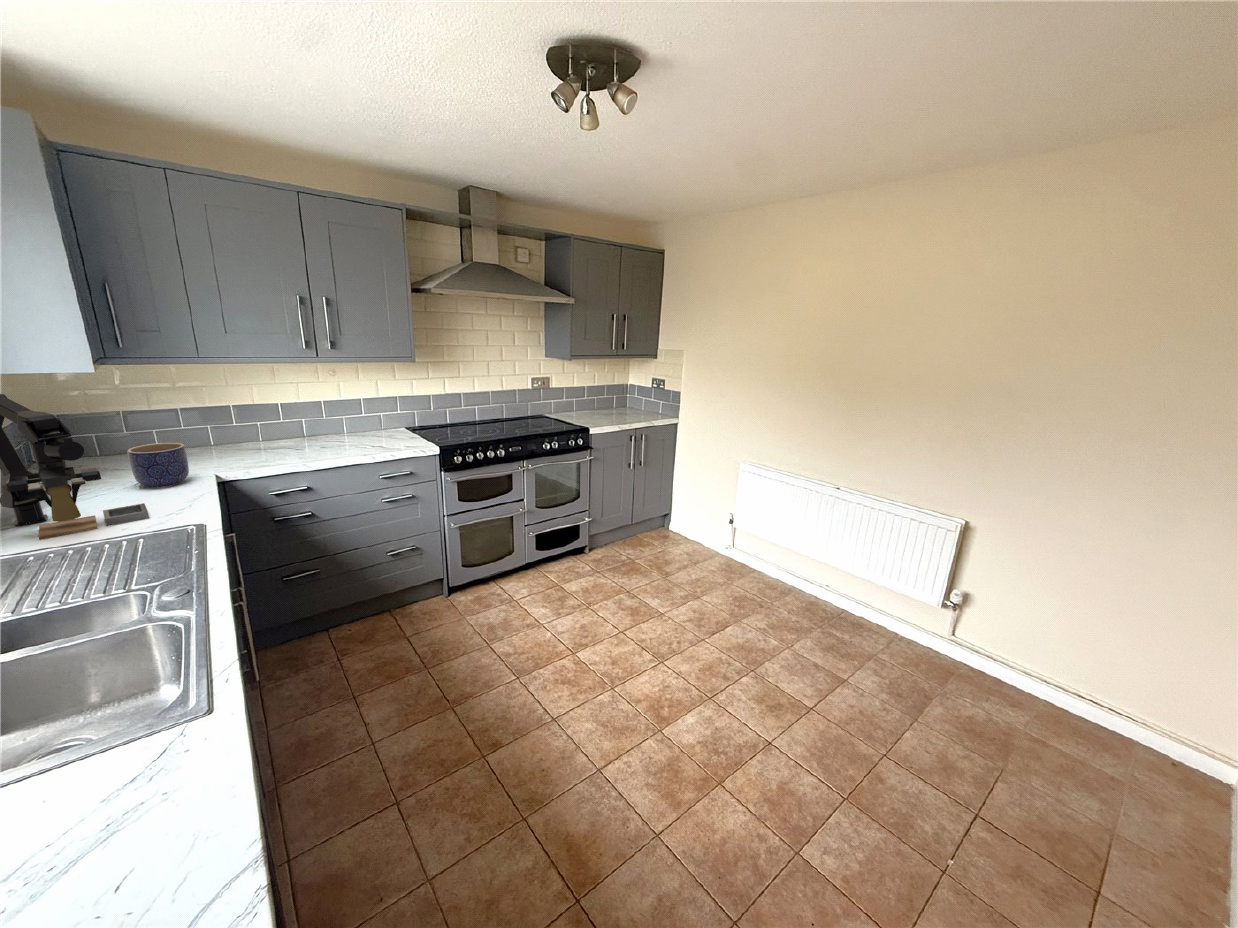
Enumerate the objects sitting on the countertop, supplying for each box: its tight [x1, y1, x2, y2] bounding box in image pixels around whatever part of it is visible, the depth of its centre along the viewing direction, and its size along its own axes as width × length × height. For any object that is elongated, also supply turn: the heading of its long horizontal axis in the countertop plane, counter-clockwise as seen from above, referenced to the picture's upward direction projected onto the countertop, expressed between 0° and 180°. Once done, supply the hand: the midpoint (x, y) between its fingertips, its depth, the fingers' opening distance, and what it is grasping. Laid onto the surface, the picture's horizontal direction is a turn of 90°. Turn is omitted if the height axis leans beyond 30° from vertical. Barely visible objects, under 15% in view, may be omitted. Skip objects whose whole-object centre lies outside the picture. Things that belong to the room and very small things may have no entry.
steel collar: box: [102, 502, 150, 527], centre depth 162 cm, size 10×10×2 cm
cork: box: [46, 483, 82, 522], centre depth 151 cm, size 6×6×11 cm
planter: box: [126, 442, 190, 489], centre depth 193 cm, size 16×17×15 cm
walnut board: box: [37, 514, 98, 541], centre depth 153 cm, size 12×12×1 cm
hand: (63, 505), depth 151 cm, fingers closed on cork, 4 cm apart
